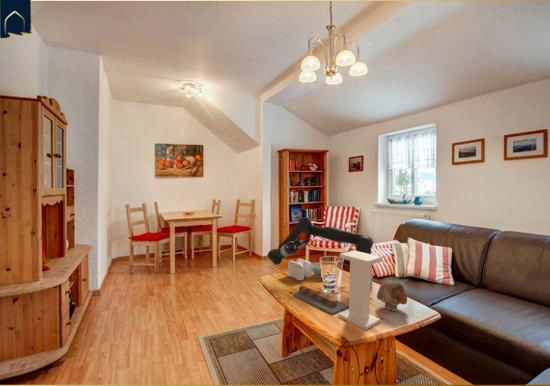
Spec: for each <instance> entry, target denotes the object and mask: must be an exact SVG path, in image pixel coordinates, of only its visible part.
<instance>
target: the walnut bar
mask: <svg viewBox="0 0 550 386" xmlns="http://www.w3.org/2000/svg"><path fill="white" fill-rule="evenodd" d="M298 292H300V293H303V294H305V295H307V296H310V297H312V298H314V299H316V300H319V301H321V302H323V303H326V304H328V305H330V306H332V307H335V306H337V301H338V299H335V298H334V297H330V296H329V295H326V294H324V293H321V292H318V291H316V290H314V289H312V290H311V288H309V287H306V286H304V285H301V286H299V287H298Z"/></svg>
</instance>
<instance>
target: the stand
mask: <svg viewBox="0 0 550 386" xmlns="http://www.w3.org/2000/svg"><path fill="white" fill-rule="evenodd" d="M339 259H343V260H346V261H349V288H348V289H349V291H348V294H349V296H348V305H349V308H347V309H345V310H342V311H340V312H338V313H337V314H338V318H340V319H342V320H345V321H346V322H349V323H351V324H353V325H355V326H357V327H360V328H361V329H363V328H364V329H363V330H365V329H367V330H369V329H370V328H372V327H374V326H376V325H378V324H380V323H381V318H379V317H376V316H374V315H372V314H370V306H371V305H370V303H371V301H370V300H371V289H370V274H371V273H372V269H371V264H372V265H374V264H377V263H380V262H383V256H379V255H376V254H372V253H371V254H367V253H363V252H359V251H356V249H355V250H351V251H346V252H342V253H339ZM379 322H380V323H379ZM377 323H378V324H377ZM375 324H376V325H375ZM373 325H374V326H373ZM369 327H370V328H369ZM368 328H369V329H368Z"/></svg>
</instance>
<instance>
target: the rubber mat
mask: <svg viewBox="0 0 550 386" xmlns="http://www.w3.org/2000/svg"><path fill="white" fill-rule="evenodd" d="M310 289H311V288H310ZM311 290H313V289H311ZM292 296H293V297H295V298H297V299H299V300H301V301H303V302H306V303H307V304H309V305H311V306H313V307H315V308H318V309H320V310H321V311H324V312H325V313H328V314H330V315H331V316H333V315H336V314H339V313H341V312H343V311H346V310H348V309H349V304H347V303H344V302H342V301H339V300H337V306H335V307H332V306H330V305H328V304H326V303H323V302H321V301H319V300H316V299H314V298H312V297H310V296H307V295H305V294H303V293H300V292H299V291H298V292H296V293H293V294H292Z"/></svg>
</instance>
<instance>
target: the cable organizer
mask: <svg viewBox="0 0 550 386" xmlns="http://www.w3.org/2000/svg"><path fill="white" fill-rule="evenodd" d="M311 264H312V262H311V261H309V260H305V259H303V258H297V259H296V261H294V260H289V261H288V262H287V274H288V276H289V277H291V278H292V279H296V280H297V281H303V280H304V279H305V278H307V279H309V278H311V277H312V271H311V268H312V265H311ZM304 277H305V278H304Z"/></svg>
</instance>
